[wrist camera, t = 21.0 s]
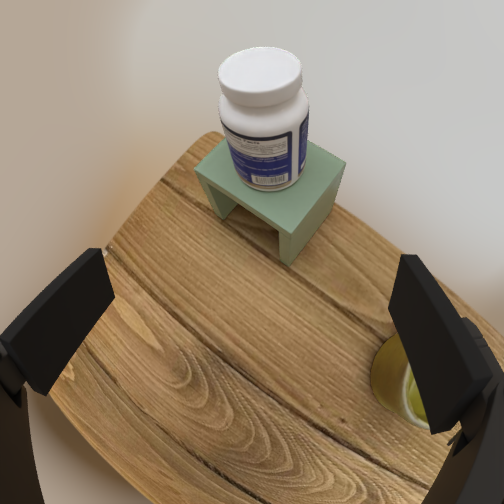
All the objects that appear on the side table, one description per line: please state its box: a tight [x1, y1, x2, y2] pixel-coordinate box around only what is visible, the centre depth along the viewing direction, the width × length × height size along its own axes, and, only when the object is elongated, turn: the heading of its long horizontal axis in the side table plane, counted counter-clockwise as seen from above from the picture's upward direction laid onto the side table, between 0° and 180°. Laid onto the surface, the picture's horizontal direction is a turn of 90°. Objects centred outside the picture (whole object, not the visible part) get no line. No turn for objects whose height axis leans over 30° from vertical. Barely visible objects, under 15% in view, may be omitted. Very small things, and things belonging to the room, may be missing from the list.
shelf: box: [194, 137, 346, 267], centre depth 27 cm, size 10×8×9 cm
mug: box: [370, 333, 430, 430], centre depth 21 cm, size 12×10×10 cm
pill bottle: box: [218, 47, 309, 191], centre depth 18 cm, size 6×6×10 cm
